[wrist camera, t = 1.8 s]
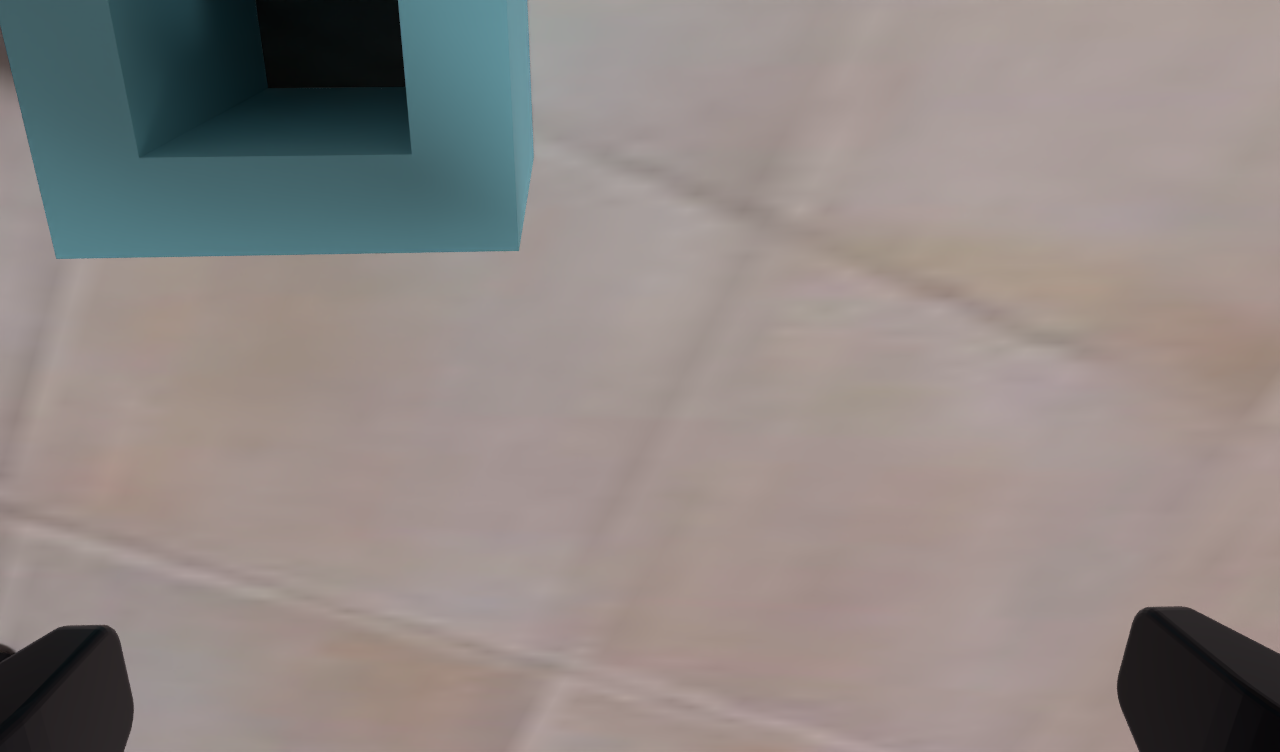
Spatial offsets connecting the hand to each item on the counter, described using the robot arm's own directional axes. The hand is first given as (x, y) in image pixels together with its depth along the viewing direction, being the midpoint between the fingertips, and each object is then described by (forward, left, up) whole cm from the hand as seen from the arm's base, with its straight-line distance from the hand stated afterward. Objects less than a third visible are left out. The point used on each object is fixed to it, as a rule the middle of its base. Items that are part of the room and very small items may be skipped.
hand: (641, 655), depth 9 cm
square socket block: (-4, +5, -12) cm, 14 cm away
